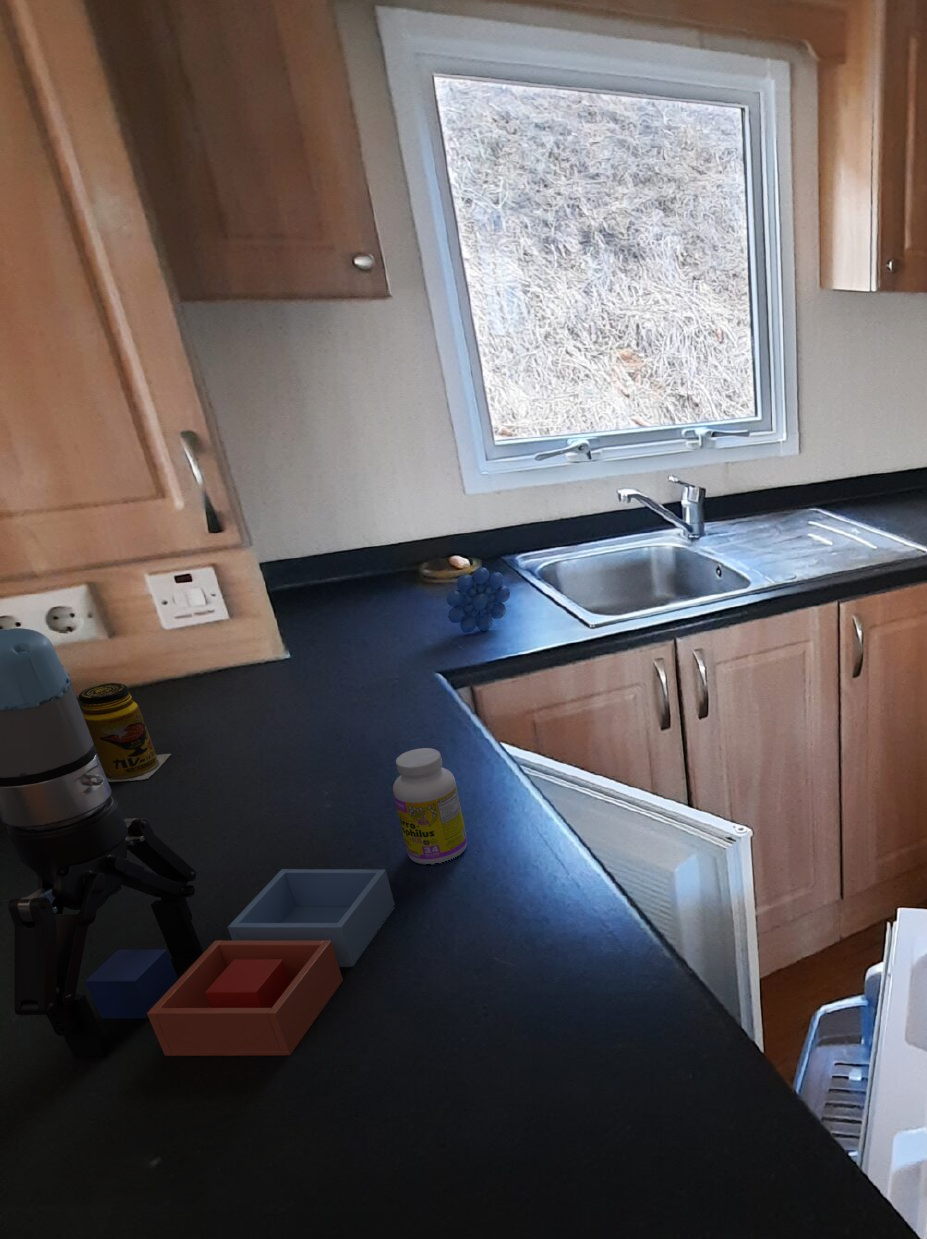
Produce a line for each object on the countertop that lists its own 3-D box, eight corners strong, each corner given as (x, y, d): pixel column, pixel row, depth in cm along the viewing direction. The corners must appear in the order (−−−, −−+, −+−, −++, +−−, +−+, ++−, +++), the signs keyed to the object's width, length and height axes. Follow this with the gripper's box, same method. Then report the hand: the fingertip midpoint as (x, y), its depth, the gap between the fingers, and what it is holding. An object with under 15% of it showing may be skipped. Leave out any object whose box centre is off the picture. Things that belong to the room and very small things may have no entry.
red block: (219, 1030, 88) (204, 992, 86) (247, 996, 92) (233, 959, 90) (269, 1029, 89) (256, 991, 87) (294, 996, 93) (282, 959, 91)
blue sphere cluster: (507, 618, 189) (497, 558, 183) (519, 628, 184) (509, 566, 179) (445, 630, 182) (433, 568, 177) (456, 640, 178) (444, 577, 172)
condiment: (148, 779, 130) (118, 698, 125) (76, 785, 128) (43, 703, 123) (172, 755, 136) (144, 676, 131) (104, 759, 135) (73, 680, 129)
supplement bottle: (395, 859, 114) (371, 764, 108) (438, 832, 120) (417, 739, 114) (440, 872, 112) (417, 775, 106) (481, 843, 118) (462, 750, 112)
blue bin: (241, 967, 97) (227, 927, 95) (293, 906, 106) (281, 868, 104) (352, 967, 97) (341, 927, 95) (395, 907, 106) (385, 869, 104)
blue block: (101, 1018, 90) (84, 981, 88) (133, 986, 94) (118, 949, 92) (150, 1018, 90) (134, 981, 88) (181, 985, 94) (166, 949, 92)
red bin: (164, 1056, 86) (146, 1013, 84) (229, 980, 95) (214, 940, 93) (290, 1055, 87) (275, 1013, 84) (343, 980, 95) (331, 940, 93)
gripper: (-13, 895, 72) (90, 1103, 81) (195, 743, 94) (256, 920, 103) (-117, 896, 71) (-2, 1104, 81) (116, 743, 94) (184, 920, 103)
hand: (143, 1001), depth 92 cm, fingers open, 13 cm apart
